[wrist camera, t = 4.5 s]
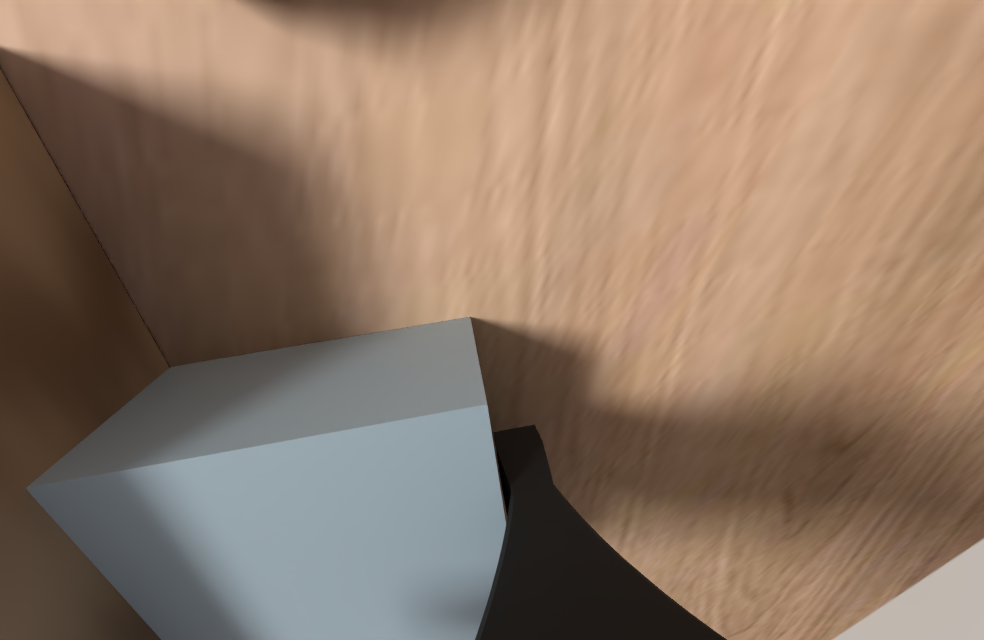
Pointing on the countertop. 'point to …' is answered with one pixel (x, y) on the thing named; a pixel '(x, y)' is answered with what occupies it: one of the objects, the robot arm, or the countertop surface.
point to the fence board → (56, 388)
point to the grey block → (297, 492)
